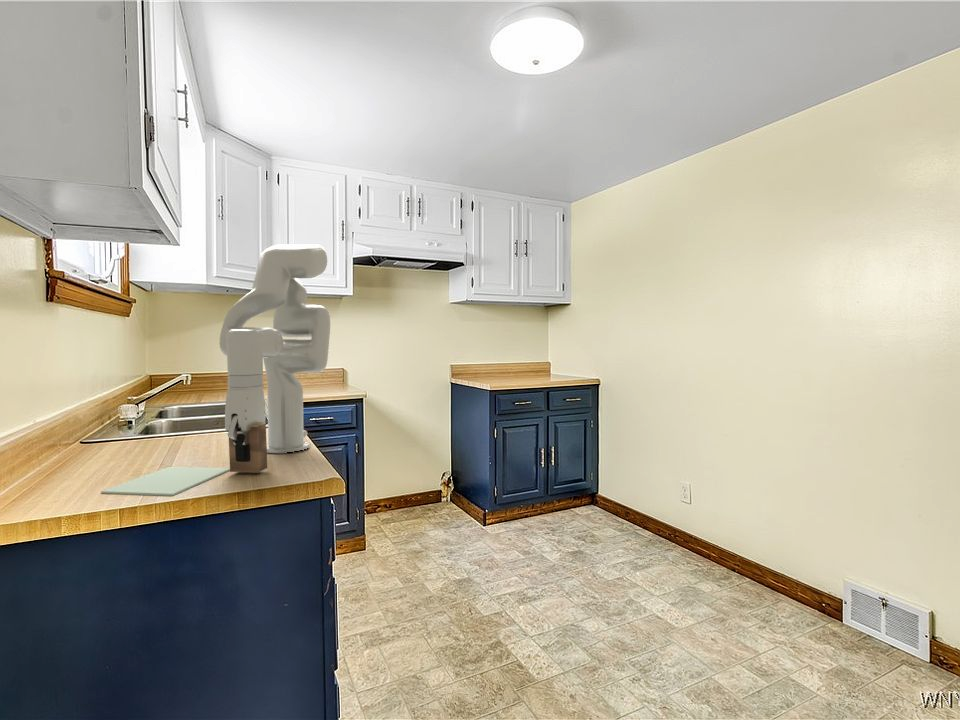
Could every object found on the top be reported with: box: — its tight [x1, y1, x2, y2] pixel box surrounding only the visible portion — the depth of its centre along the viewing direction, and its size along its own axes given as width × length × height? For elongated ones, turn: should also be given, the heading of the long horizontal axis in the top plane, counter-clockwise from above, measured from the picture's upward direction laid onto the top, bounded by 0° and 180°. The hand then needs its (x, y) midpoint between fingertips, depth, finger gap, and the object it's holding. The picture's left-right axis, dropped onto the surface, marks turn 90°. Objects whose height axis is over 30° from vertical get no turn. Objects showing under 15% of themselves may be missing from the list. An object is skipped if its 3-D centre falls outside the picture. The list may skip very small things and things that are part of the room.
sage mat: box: [100, 466, 230, 497], centre depth 115 cm, size 20×16×1 cm
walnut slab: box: [228, 421, 268, 473], centre depth 121 cm, size 4×7×11 cm, turn 84°
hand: (248, 457), depth 121 cm, fingers closed on walnut slab, 4 cm apart
